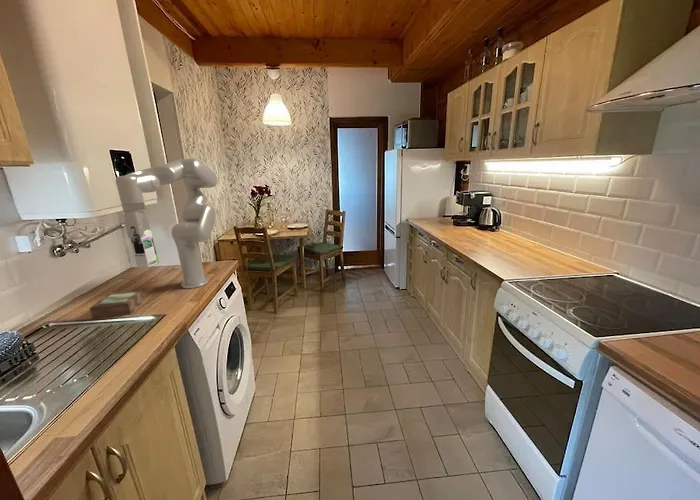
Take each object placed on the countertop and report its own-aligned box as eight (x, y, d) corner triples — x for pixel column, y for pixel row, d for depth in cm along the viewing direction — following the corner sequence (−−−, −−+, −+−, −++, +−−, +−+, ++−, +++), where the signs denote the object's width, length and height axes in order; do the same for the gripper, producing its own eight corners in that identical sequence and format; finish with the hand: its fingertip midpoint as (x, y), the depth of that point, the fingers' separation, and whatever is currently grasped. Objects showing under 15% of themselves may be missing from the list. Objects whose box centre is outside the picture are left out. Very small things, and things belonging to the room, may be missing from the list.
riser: (110, 304, 144) (107, 293, 142) (144, 300, 146) (142, 289, 144) (93, 319, 130) (89, 307, 129) (130, 314, 133) (127, 302, 131)
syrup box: (148, 267, 130) (140, 232, 126) (136, 267, 131) (127, 232, 127) (159, 262, 135) (151, 229, 131) (147, 262, 136) (139, 229, 132)
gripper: (133, 205, 134) (143, 246, 139) (112, 211, 117) (124, 257, 122) (152, 204, 135) (162, 244, 140) (134, 210, 119) (145, 255, 124)
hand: (144, 250), depth 131 cm, fingers closed on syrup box, 7 cm apart
